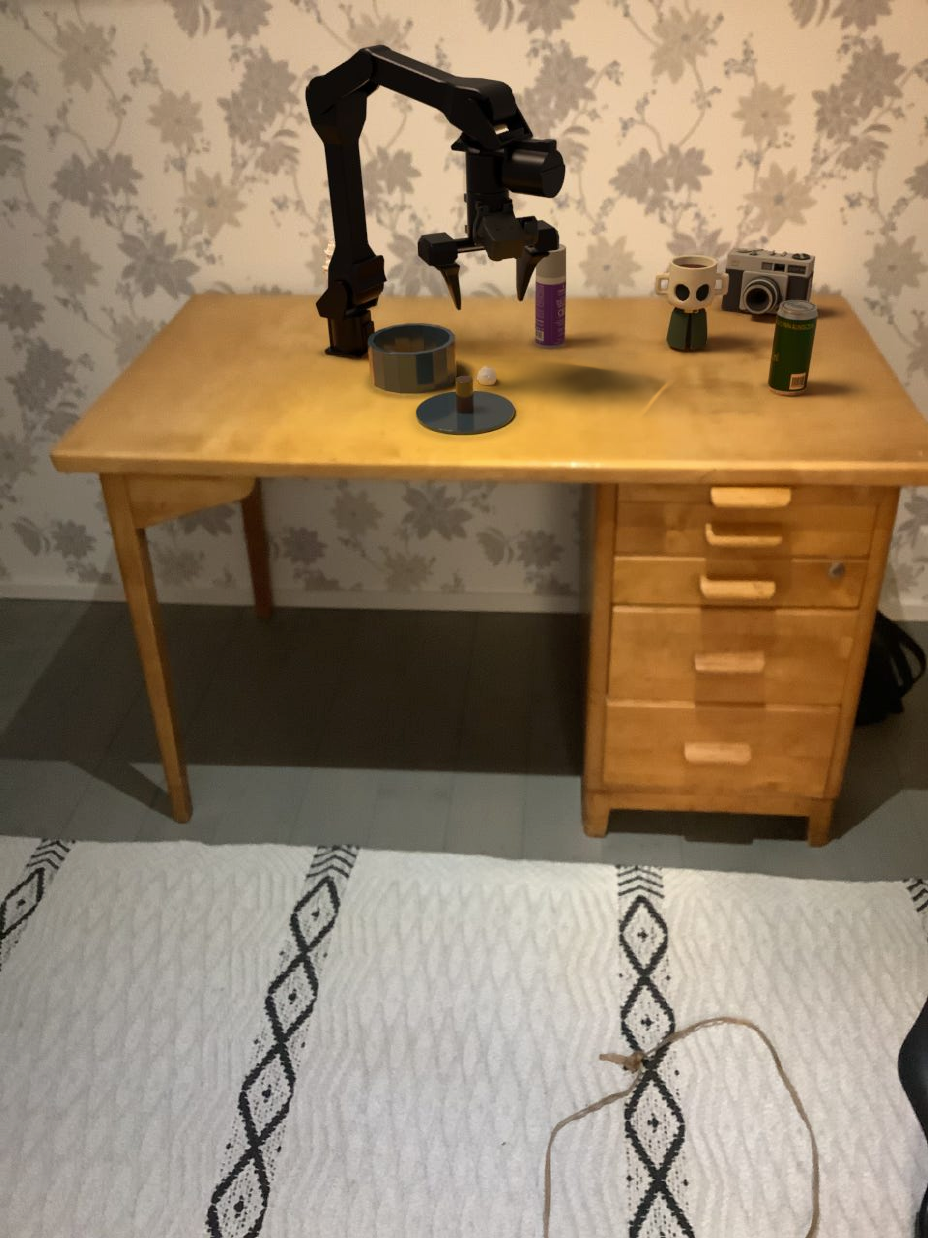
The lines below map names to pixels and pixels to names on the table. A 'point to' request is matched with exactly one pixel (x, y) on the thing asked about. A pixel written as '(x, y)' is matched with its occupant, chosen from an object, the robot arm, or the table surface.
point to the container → (551, 300)
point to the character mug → (690, 297)
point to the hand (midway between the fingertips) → (489, 304)
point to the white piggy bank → (486, 376)
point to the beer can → (792, 347)
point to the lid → (465, 410)
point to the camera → (766, 280)
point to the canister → (412, 358)
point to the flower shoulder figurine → (328, 255)
